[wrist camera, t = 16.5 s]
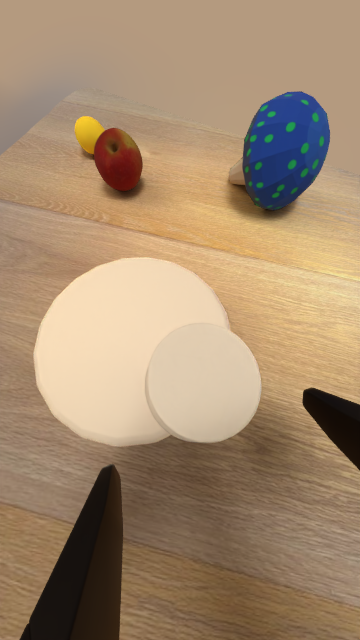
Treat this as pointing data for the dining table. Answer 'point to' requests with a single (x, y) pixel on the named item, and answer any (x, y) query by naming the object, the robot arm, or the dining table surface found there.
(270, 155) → the green-spotted blue ball
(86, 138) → the lemon
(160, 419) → the pill bottle
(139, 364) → the container
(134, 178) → the apple
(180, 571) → the dining table surface
